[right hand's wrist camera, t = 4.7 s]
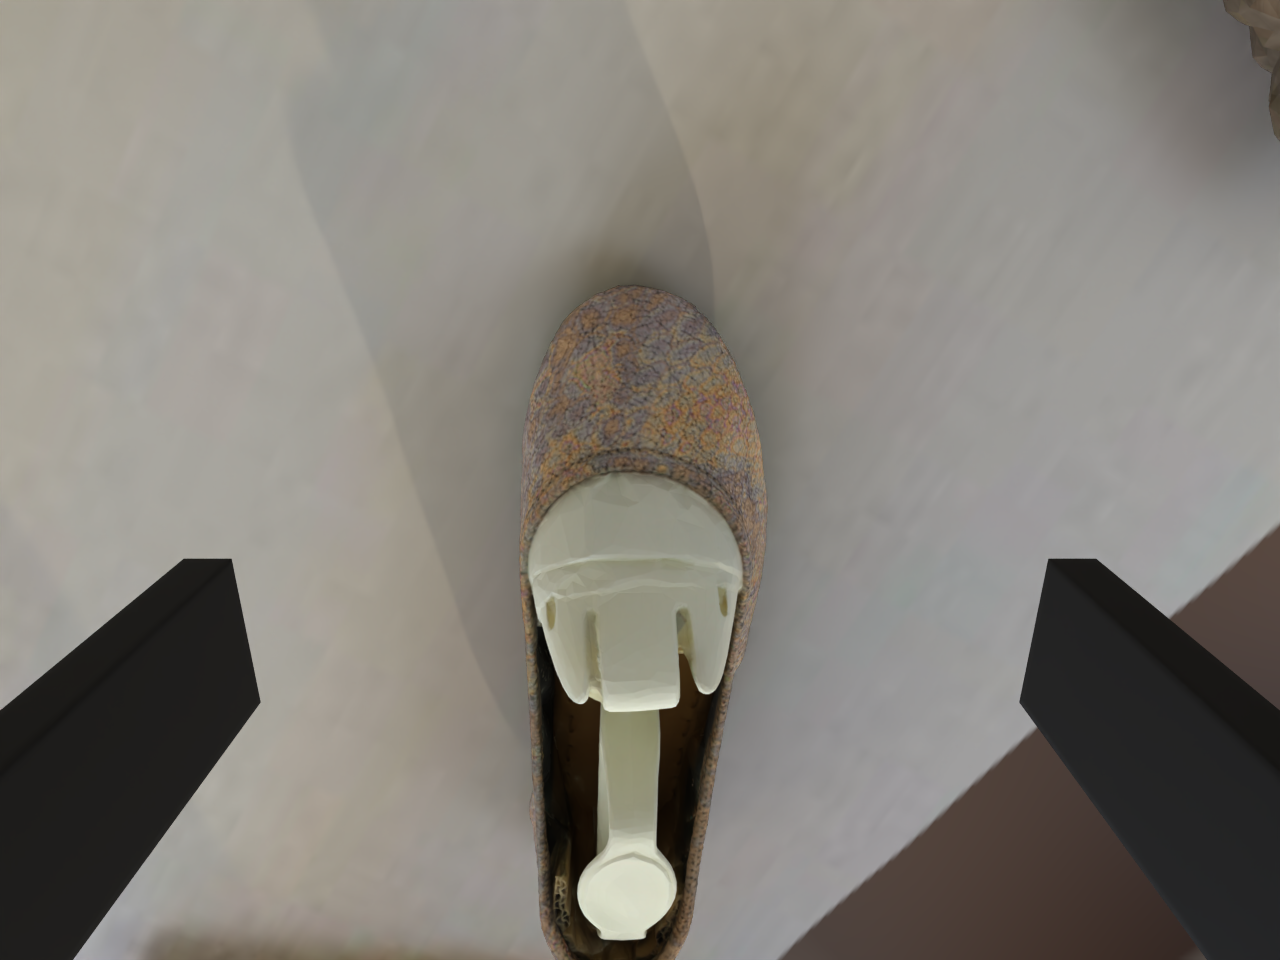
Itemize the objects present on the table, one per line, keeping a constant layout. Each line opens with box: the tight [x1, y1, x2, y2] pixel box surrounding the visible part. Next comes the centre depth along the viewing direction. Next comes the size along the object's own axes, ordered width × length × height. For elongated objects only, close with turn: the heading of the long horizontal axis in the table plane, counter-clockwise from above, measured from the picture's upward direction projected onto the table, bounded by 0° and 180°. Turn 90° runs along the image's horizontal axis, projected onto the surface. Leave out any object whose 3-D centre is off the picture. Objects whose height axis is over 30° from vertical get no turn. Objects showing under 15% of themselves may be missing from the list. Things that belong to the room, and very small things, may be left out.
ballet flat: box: [519, 285, 768, 960], centre depth 26 cm, size 8×25×8 cm, turn 0°
